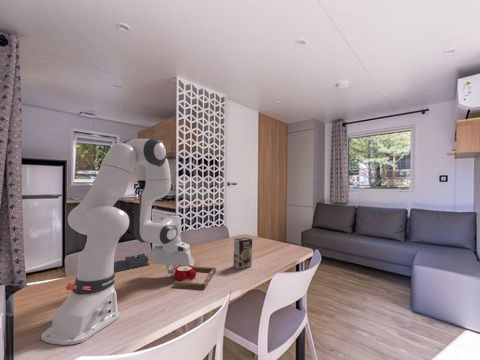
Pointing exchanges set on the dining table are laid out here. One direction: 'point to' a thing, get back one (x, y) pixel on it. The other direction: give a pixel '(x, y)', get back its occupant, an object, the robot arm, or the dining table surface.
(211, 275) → the brown frame
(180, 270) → the alarm clock
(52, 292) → the dining table surface
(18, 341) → the dining table surface
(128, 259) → the dark slate chunk
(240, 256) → the coffee box
